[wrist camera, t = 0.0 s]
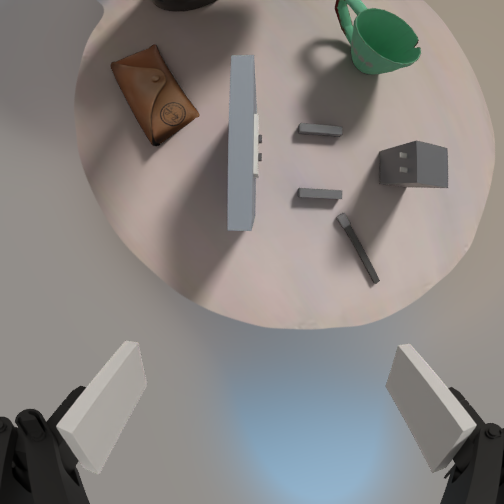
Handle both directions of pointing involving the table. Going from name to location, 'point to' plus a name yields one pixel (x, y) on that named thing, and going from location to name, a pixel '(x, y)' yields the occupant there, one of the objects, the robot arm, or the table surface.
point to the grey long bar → (357, 246)
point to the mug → (377, 38)
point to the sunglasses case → (153, 94)
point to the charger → (414, 165)
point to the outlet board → (254, 146)
